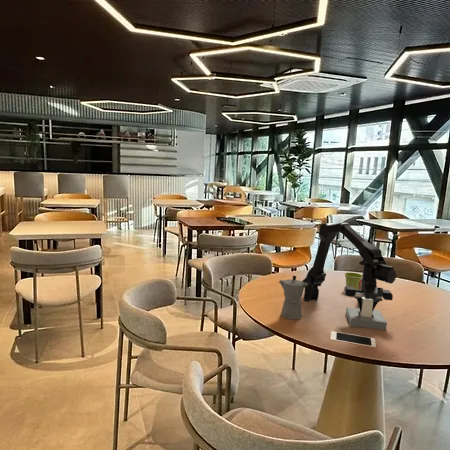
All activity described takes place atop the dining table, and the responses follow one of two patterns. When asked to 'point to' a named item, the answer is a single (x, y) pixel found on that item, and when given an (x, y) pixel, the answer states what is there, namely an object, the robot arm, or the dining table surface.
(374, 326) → the socket
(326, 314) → the dining table surface
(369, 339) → the cell phone
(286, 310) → the coffeepot
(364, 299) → the peg
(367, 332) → the dining table surface
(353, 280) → the plant pot
